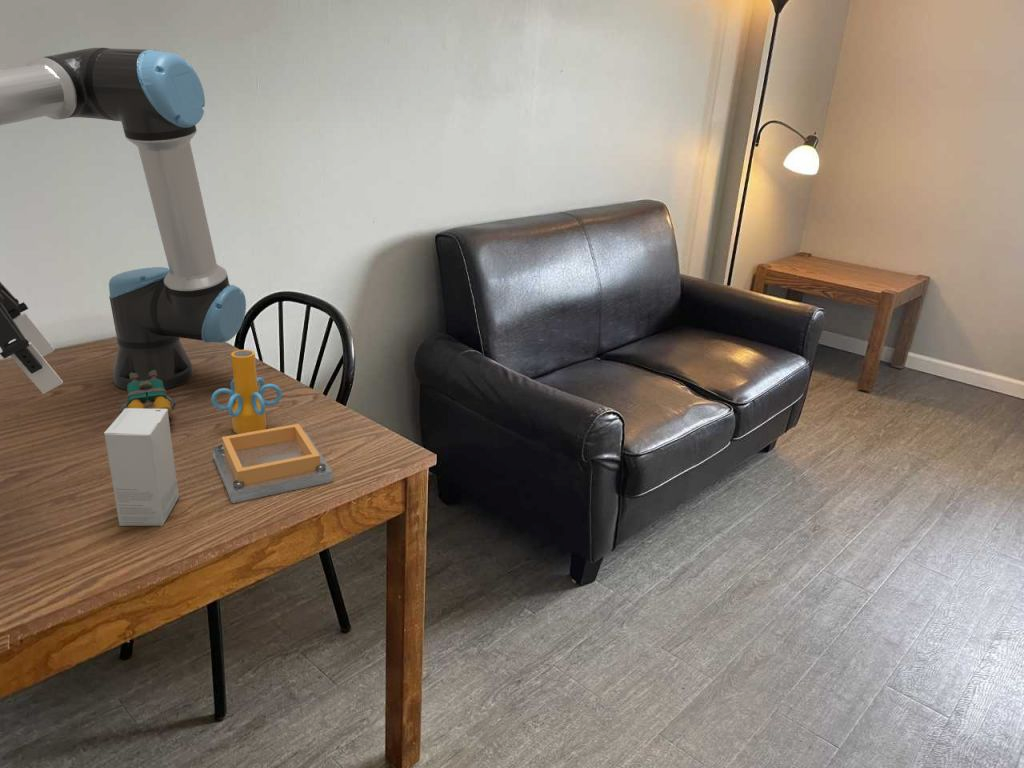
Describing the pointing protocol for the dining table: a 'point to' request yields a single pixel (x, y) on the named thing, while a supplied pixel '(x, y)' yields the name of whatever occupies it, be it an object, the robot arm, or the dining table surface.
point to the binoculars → (148, 393)
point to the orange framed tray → (272, 486)
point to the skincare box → (142, 466)
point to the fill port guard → (276, 467)
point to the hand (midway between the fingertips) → (49, 370)
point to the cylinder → (246, 394)
